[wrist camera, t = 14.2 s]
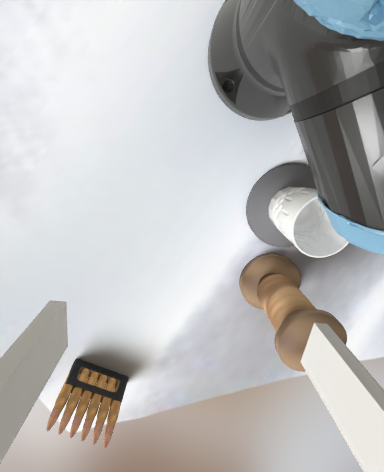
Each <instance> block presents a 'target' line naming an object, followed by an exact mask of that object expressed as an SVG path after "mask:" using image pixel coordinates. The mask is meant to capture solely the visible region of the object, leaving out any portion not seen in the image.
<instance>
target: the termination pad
mask: <svg viewBox="0 0 384 472" xmlns="http://www.w3.org/2000/svg"><path fill="white" fill-rule="evenodd" d="M286 187H304V188H311V189H317V188H316V185H315V182H314V179H313V176H312V173H311V169H310V167H307V166H304V165H298V164H287V165H282V166H279V167H276V168H274V169H272V170H270V171H269V172H267V173H266V174H264V175H263V176H262V177H261V178H260V179H259V180H258V181H257V182H256V184H255V185H254V186H253V188H252V190H251V192H250V194H249V197H248V200H247V206H246V215H247V220H248V223H249V226H250V228H251V230H252V231H253V232H254V234H255V235H256V236H257V237H258V238H259V239H260V240H262V241H263V242H265V243H267V244H269V245H272V246H277V247H290V246H294V245H293V244H292V243H291V242H290V241H289V240H288V239H287V238H286V237H285V236H284V235H283V234H282V233H281V232H280V231H279V230H278V228H277V227H276V226H275V225H274V224H273V222H272V221H271V219H270V218H269V209H268V207H269V204H270V202H271V199H272V197H273V196H274V195H275V194H276V193H277V192H278V191H279V190H282V189H284V188H286Z"/></svg>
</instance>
